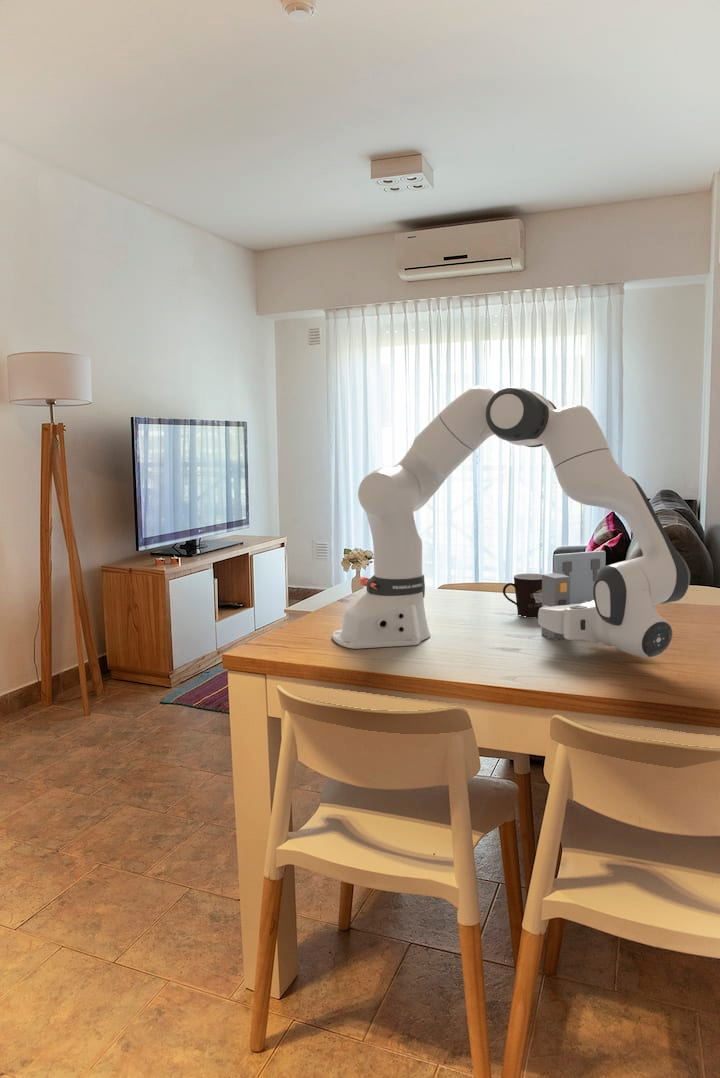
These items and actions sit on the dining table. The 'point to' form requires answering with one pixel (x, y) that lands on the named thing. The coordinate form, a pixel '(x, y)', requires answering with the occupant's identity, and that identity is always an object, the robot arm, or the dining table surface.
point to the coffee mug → (527, 593)
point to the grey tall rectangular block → (555, 596)
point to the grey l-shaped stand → (580, 572)
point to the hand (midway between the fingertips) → (564, 607)
